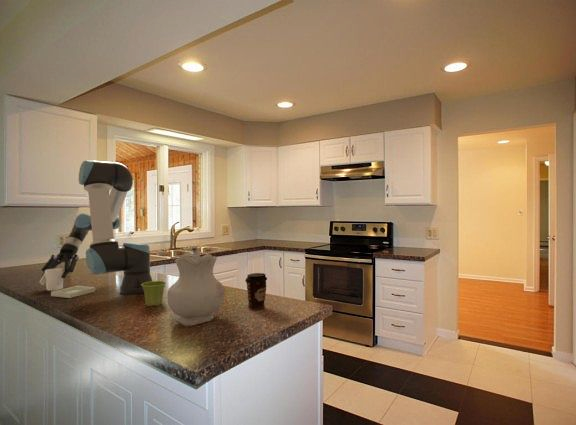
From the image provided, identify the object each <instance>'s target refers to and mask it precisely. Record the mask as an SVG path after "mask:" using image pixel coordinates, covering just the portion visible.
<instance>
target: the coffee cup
mask: <svg viewBox="0 0 576 425" xmlns="http://www.w3.org/2000/svg"><path fill="white" fill-rule="evenodd" d="M267 280H268V277H267V276H266V273H263V272H262V273H261V272H254V273H249V274H247V277H246V278H245V280H244V281H245V283H246V289H247V300H248V306H247V307H248V309H249V310H252V311H258V310H262V309H264V308H265V306H266V305H265V301H266V295H267V294H266V292H267Z"/></svg>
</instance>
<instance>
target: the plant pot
mask: <svg viewBox="0 0 576 425" xmlns="http://www.w3.org/2000/svg"><path fill="white" fill-rule="evenodd" d="M166 284H167V282H166V281H163V280H156V281H155V280H152V281H151V282H146V283H143V284H141V286H142V287H143V290H144V293H143V294H144V300H145V301H144V302H145V306H146V307H152V306H155V307H158V306H160V305H162V303H163V299H164V298H163V297H164V290H165V286H166Z"/></svg>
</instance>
